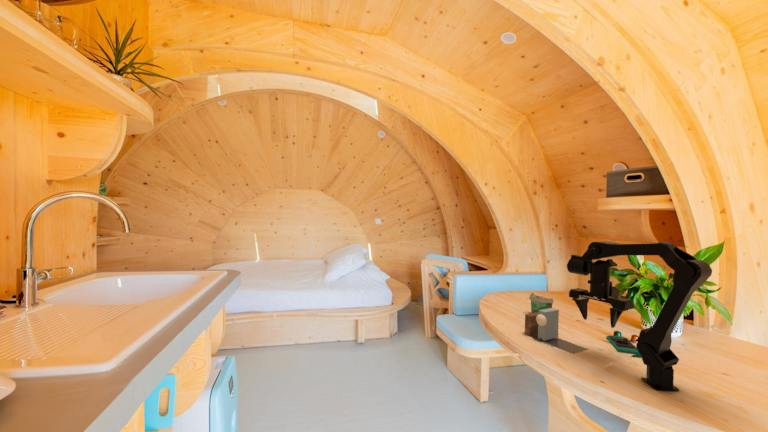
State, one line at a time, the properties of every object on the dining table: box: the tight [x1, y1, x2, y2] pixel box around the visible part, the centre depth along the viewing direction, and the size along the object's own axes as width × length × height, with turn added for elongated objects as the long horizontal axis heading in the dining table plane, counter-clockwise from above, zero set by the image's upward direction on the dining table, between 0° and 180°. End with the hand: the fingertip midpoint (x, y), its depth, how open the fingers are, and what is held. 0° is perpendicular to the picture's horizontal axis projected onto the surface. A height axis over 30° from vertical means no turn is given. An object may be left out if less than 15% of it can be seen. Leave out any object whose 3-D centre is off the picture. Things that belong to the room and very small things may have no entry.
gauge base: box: [521, 332, 589, 355], centre depth 132 cm, size 22×10×1 cm, turn 27°
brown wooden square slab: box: [524, 312, 538, 337], centre depth 140 cm, size 2×8×8 cm, turn 117°
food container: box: [528, 292, 555, 313], centre depth 165 cm, size 12×6×10 cm, turn 25°
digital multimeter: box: [605, 335, 642, 358], centre depth 128 cm, size 7×15×3 cm, turn 161°
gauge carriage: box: [536, 307, 560, 341], centre depth 134 cm, size 6×10×11 cm, turn 117°
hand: (598, 323), depth 117 cm, fingers open, 9 cm apart
